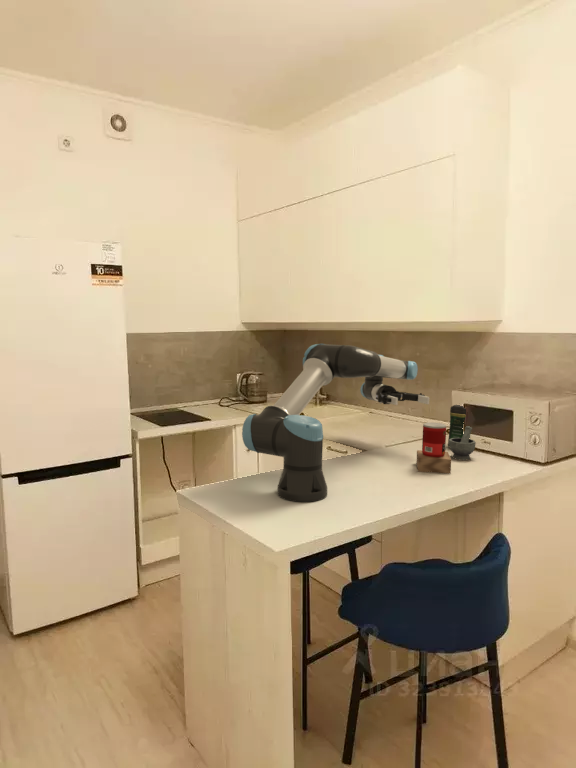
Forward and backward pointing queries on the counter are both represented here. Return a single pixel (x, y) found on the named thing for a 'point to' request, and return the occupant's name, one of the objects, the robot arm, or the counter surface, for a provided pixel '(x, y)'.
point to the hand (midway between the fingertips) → (412, 401)
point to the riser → (433, 463)
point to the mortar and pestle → (462, 445)
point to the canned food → (434, 439)
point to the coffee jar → (456, 421)
